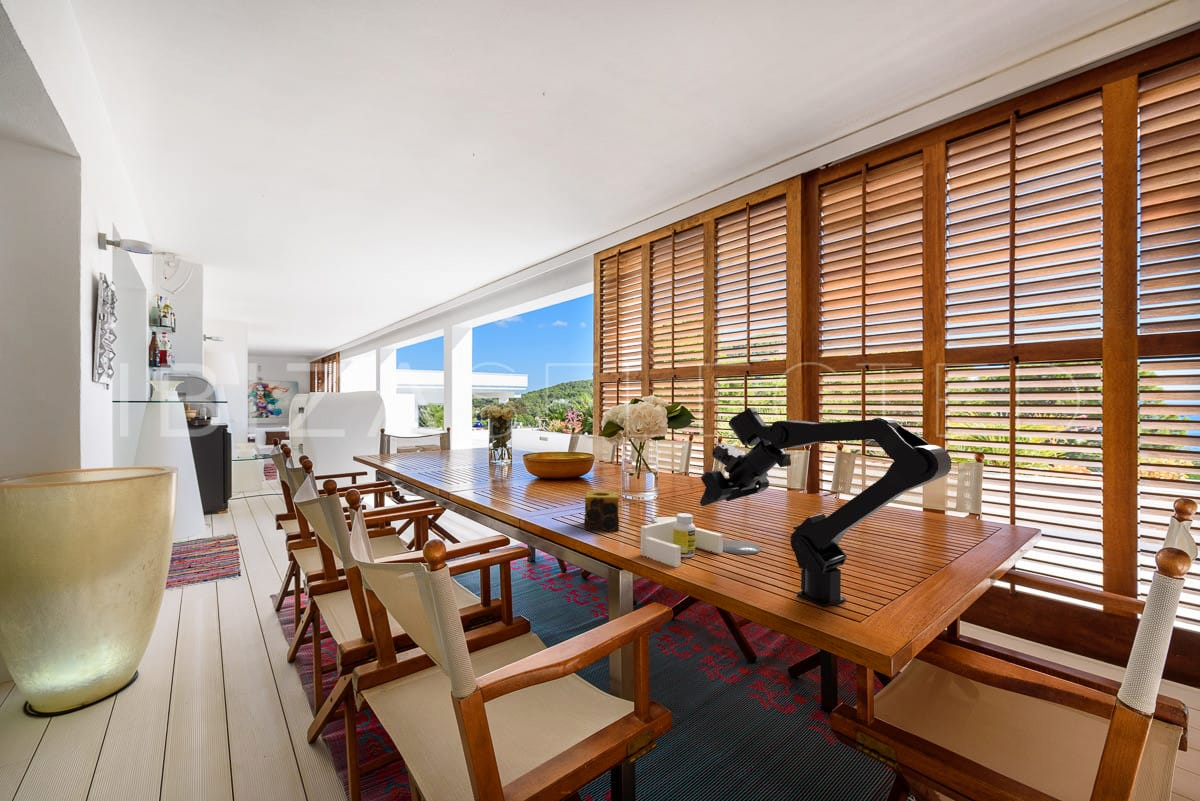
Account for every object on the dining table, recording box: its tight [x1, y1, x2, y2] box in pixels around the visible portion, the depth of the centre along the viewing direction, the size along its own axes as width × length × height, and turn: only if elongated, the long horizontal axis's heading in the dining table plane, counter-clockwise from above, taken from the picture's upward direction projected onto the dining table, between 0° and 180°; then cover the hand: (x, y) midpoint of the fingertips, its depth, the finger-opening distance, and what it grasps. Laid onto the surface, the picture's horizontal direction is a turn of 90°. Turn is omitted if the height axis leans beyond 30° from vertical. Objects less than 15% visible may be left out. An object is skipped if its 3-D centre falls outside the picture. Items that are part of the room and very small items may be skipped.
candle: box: [583, 490, 620, 532], centre depth 150 cm, size 10×10×10 cm
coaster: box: [723, 539, 762, 555], centre depth 130 cm, size 11×11×1 cm
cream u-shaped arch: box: [640, 519, 724, 568], centre depth 125 cm, size 11×18×7 cm, turn 130°
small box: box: [650, 516, 677, 524], centre depth 139 cm, size 8×8×5 cm
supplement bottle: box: [673, 512, 696, 558], centre depth 124 cm, size 5×5×10 cm
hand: (713, 501), depth 118 cm, fingers open, 9 cm apart
